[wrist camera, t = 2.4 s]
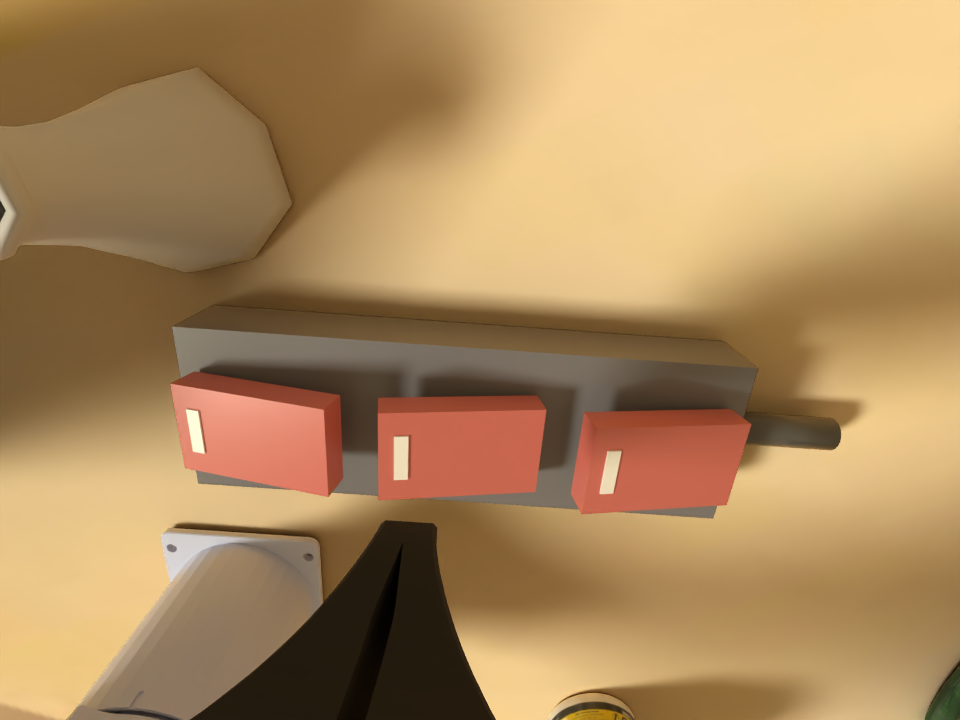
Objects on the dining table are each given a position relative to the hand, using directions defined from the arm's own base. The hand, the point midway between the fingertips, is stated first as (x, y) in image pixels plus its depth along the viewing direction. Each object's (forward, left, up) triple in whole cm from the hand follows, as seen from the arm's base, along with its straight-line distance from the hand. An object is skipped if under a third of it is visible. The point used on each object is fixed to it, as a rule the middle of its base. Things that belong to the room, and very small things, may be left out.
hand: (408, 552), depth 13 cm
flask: (+8, +10, -11) cm, 17 cm away
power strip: (-1, -4, -10) cm, 11 cm away
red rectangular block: (0, -8, -6) cm, 10 cm away
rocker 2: (0, -1, -6) cm, 6 cm away
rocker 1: (0, +7, -6) cm, 9 cm away
